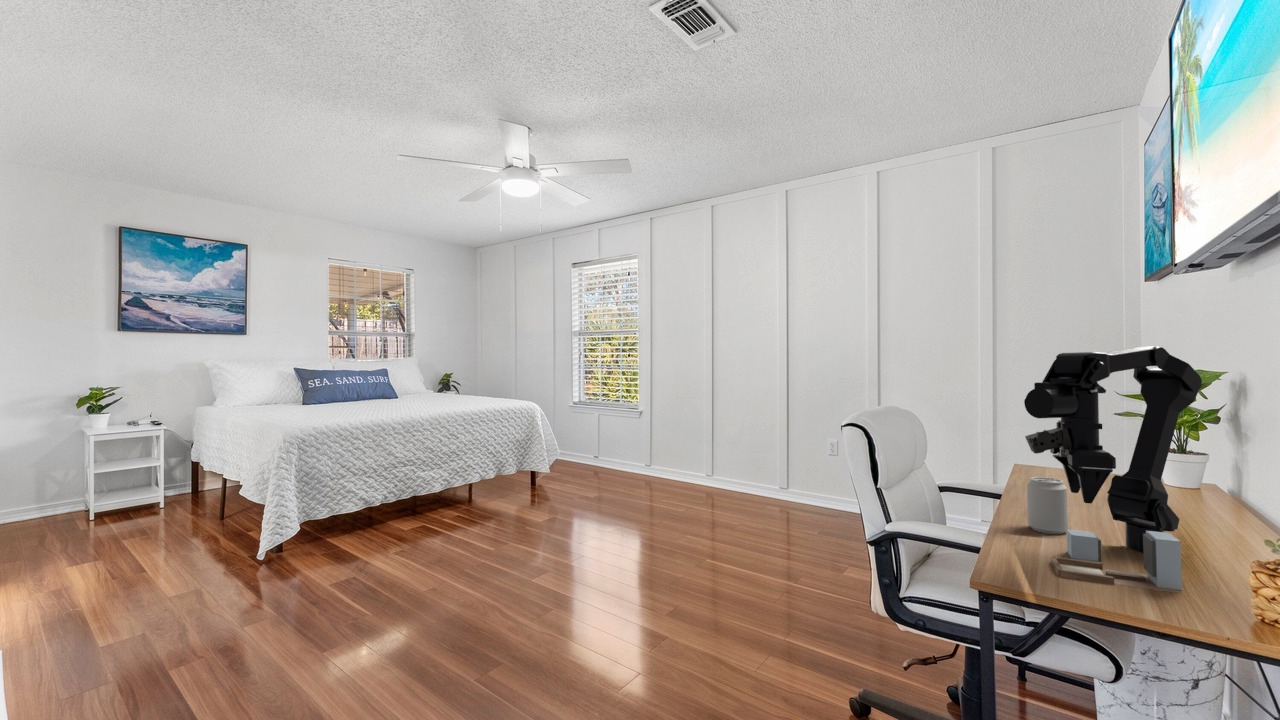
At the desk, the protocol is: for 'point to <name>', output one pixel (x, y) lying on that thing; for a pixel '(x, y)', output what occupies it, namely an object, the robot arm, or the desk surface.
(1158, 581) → the block
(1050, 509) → the can
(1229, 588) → the desk surface
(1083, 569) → the rail
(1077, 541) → the finger block
